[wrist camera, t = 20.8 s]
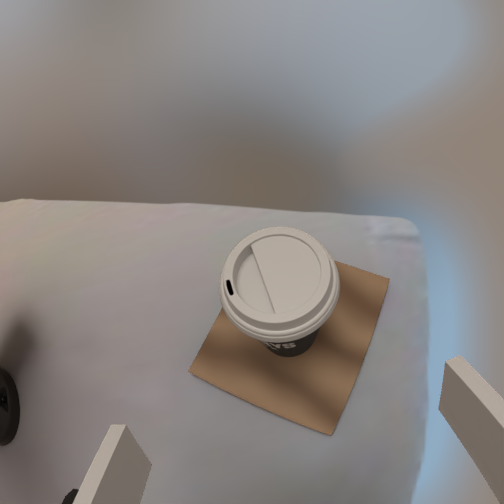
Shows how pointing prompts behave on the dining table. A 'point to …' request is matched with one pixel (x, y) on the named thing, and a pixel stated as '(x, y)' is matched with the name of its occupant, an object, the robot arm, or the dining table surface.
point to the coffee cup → (280, 288)
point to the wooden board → (299, 358)
